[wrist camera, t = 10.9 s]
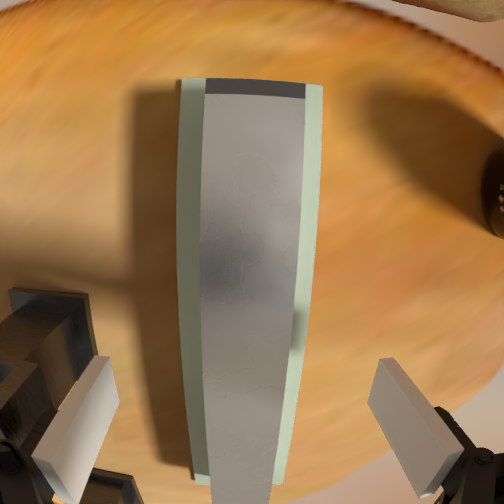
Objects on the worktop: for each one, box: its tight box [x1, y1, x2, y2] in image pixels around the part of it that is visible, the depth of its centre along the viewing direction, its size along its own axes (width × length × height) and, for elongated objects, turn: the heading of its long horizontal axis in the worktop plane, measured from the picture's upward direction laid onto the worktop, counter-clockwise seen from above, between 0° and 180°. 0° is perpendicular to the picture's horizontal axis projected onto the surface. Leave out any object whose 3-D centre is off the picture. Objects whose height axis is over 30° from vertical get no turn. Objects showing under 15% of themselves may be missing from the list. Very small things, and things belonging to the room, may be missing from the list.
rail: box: [200, 78, 306, 504], centre depth 15 cm, size 4×25×4 cm, turn 178°
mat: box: [176, 78, 323, 485], centre depth 17 cm, size 7×28×1 cm, turn 178°
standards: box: [0, 287, 144, 504], centre depth 14 cm, size 6×23×10 cm, turn 178°
